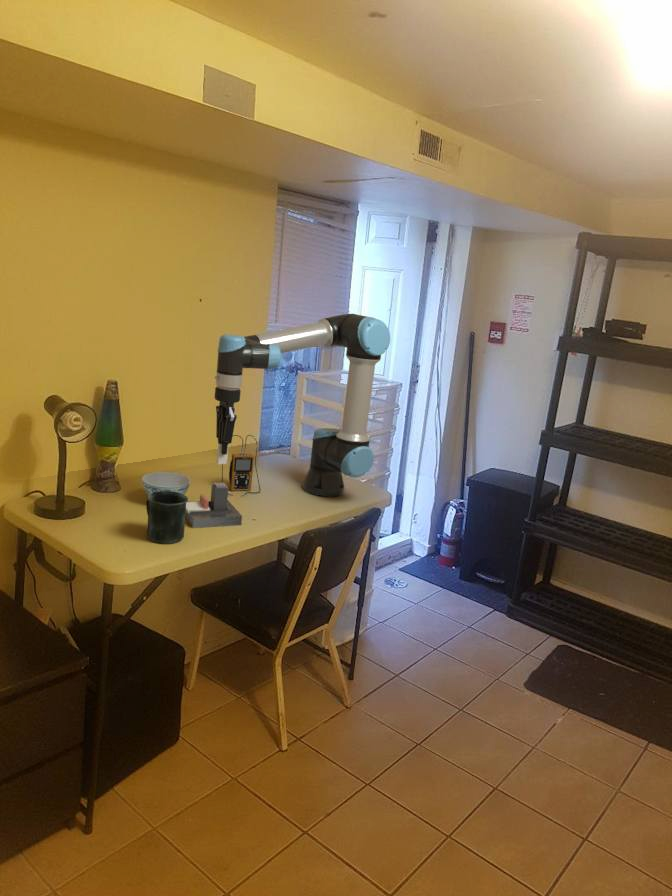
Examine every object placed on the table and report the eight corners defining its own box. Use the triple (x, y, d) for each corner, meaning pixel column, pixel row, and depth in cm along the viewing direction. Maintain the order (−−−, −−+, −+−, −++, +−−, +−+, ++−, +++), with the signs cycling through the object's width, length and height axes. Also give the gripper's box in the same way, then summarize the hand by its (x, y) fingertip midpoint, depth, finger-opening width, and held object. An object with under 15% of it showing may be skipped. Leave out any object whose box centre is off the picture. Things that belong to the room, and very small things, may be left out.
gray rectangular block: (221, 513, 219) (224, 482, 216) (225, 518, 216) (228, 486, 213) (209, 514, 217) (212, 482, 215) (213, 519, 214) (215, 486, 211)
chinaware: (139, 509, 215) (140, 485, 213) (142, 493, 229) (143, 470, 227) (188, 511, 218) (190, 487, 216) (188, 495, 232) (190, 473, 230)
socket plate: (227, 508, 224) (228, 498, 223) (241, 525, 212) (242, 514, 211) (181, 511, 217) (181, 500, 216) (192, 528, 205) (193, 516, 204)
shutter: (203, 503, 217) (204, 493, 216) (209, 511, 211) (210, 501, 210) (182, 504, 214) (182, 494, 213) (187, 512, 208) (188, 502, 207)
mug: (161, 548, 189) (163, 507, 186) (130, 531, 197) (132, 491, 194) (193, 540, 197) (196, 500, 194) (162, 523, 206) (164, 485, 203)
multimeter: (224, 498, 233) (229, 441, 228) (218, 489, 242) (223, 433, 237) (267, 498, 239) (272, 442, 234) (259, 488, 248) (264, 434, 243)
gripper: (209, 382, 210) (203, 457, 216) (222, 391, 199) (216, 470, 205) (233, 383, 214) (227, 457, 219) (247, 392, 202) (240, 469, 208)
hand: (221, 463), depth 212 cm, fingers closed
